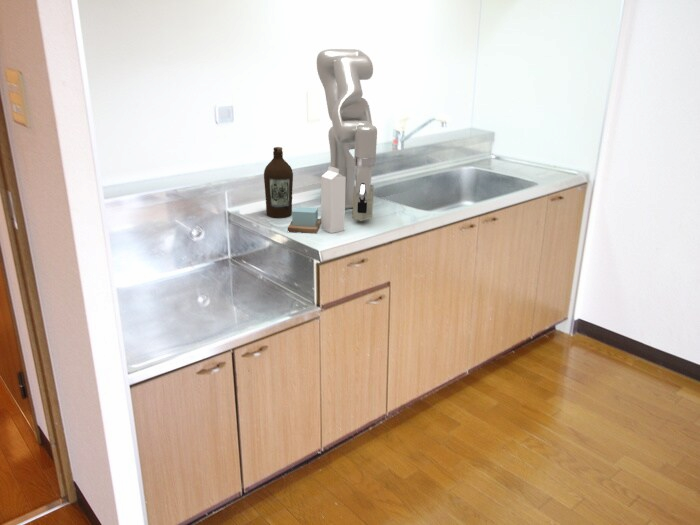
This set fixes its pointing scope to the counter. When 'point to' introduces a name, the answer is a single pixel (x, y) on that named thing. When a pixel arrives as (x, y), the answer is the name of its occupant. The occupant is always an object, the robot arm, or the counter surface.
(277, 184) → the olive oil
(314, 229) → the board
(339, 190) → the milk
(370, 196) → the skincare box
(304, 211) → the brick
